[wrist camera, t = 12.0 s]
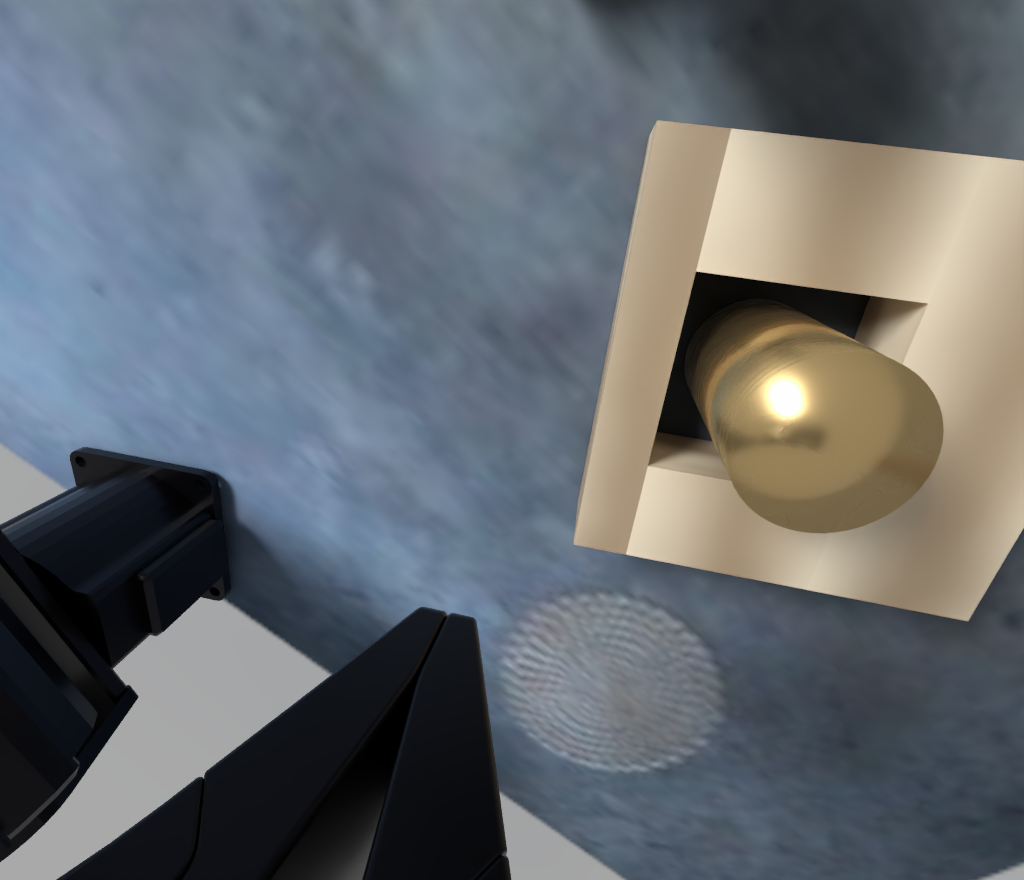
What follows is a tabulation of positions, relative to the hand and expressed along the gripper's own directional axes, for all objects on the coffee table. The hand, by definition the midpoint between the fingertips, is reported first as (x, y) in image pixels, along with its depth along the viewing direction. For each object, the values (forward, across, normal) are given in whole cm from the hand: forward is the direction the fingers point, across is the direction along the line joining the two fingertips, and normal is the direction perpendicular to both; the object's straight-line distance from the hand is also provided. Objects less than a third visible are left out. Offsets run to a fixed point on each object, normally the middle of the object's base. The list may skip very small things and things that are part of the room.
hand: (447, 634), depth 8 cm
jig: (+12, -8, -2) cm, 15 cm away
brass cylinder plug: (+12, -6, -2) cm, 14 cm away
